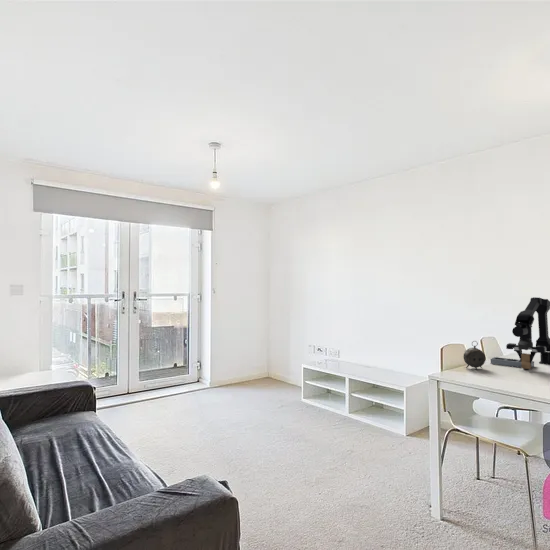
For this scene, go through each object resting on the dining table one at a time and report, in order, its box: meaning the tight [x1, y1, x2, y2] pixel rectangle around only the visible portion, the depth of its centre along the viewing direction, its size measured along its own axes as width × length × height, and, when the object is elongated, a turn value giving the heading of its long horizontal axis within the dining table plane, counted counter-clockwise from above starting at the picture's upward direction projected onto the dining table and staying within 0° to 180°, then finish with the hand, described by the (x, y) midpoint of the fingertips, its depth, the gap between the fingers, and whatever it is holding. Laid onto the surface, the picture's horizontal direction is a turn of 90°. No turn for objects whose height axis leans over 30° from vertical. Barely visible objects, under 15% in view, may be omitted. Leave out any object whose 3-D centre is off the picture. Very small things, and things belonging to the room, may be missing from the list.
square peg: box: [521, 352, 532, 370], centre depth 222 cm, size 4×4×8 cm
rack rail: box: [490, 356, 535, 369], centre depth 234 cm, size 21×9×3 cm, turn 46°
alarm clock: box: [463, 340, 487, 370], centre depth 224 cm, size 11×5×16 cm, turn 84°
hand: (526, 362), depth 222 cm, fingers closed on square peg, 4 cm apart
